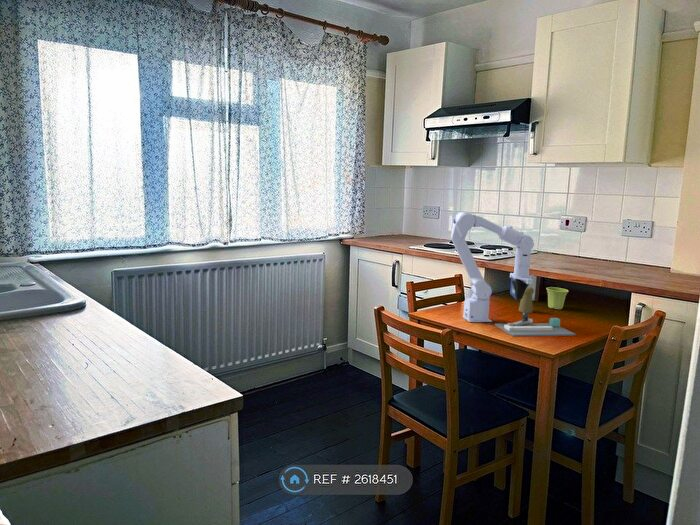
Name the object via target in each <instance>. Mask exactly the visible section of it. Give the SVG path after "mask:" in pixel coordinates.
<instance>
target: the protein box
mask: <svg viewBox="0 0 700 525" xmlns="http://www.w3.org/2000/svg"><path fill="white" fill-rule="evenodd" d="M513 273H514V272H513ZM529 276H531V279H533V281H532V284H529V285H528V286H529V287H532V288H533V289H534V292H533V294H532V302H538V301H539V292H540V291H539V290H540V283H541V282H540V281H541V276H540V277H539V276H534V275H529ZM512 281H515V279H514V278H510V290H509V293H510V295H511V296H512V297H513V298H514V300H516V301H521V299H516V296H515V290H514V286H513V284H512Z"/></svg>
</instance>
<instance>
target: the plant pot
mask: <svg viewBox="0 0 700 525" xmlns="http://www.w3.org/2000/svg"><path fill="white" fill-rule="evenodd" d="M546 293H547V306H548V308H550V309H554V310H562V309H564V308H563V307H564V304H565V300H566V296H567V294H568V293H569V290H568V289H566V288H561V287H553V286H550V287H546Z"/></svg>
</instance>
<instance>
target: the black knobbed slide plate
mask: <svg viewBox="0 0 700 525" xmlns="http://www.w3.org/2000/svg"><path fill="white" fill-rule="evenodd" d="M529 314H530V313H529V312H522V316H521V317H522V319H521V320H517V321H515V322H511V323H512V324H513V326H521V325H525V324H528V323H533V321H534V319H533V318H529Z"/></svg>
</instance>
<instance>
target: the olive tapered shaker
mask: <svg viewBox="0 0 700 525" xmlns="http://www.w3.org/2000/svg"><path fill="white" fill-rule="evenodd" d="M533 292H534V289H533V288H532V287H529V286H528V287H527V288H526V290H525V292H524V295H523V298H522V299H521V300H519V301H520V302H519V307H518V312H521V313H523V312H529V314H531V313H532V314H533V311H534V310H533V301H532V294H533Z"/></svg>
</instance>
